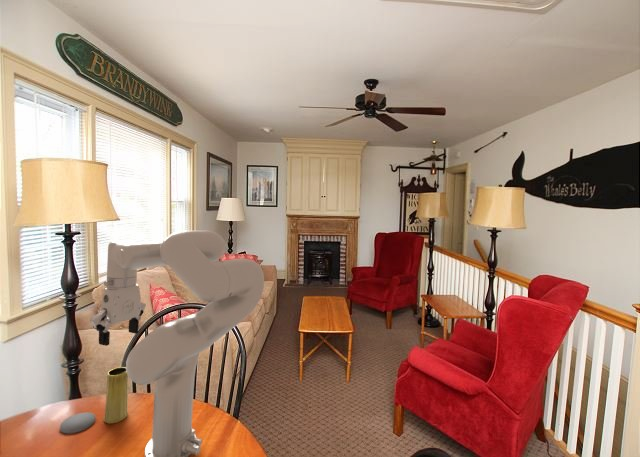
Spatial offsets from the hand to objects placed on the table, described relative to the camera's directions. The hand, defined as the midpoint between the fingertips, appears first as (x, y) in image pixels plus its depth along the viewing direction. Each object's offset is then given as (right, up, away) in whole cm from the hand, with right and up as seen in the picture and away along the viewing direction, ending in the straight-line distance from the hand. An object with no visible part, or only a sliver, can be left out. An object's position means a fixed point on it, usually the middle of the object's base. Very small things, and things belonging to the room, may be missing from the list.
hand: (119, 338), depth 92 cm
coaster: (-10, -24, -3) cm, 26 cm away
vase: (-2, -24, +1) cm, 24 cm away
